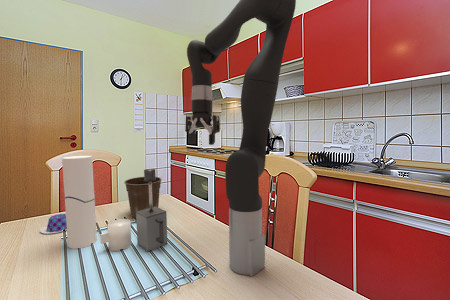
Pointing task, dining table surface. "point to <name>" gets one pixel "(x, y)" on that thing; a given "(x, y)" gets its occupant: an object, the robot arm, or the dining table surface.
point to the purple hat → (55, 224)
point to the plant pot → (142, 194)
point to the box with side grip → (151, 228)
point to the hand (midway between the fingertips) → (202, 144)
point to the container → (79, 201)
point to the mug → (117, 235)
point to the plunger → (150, 184)
